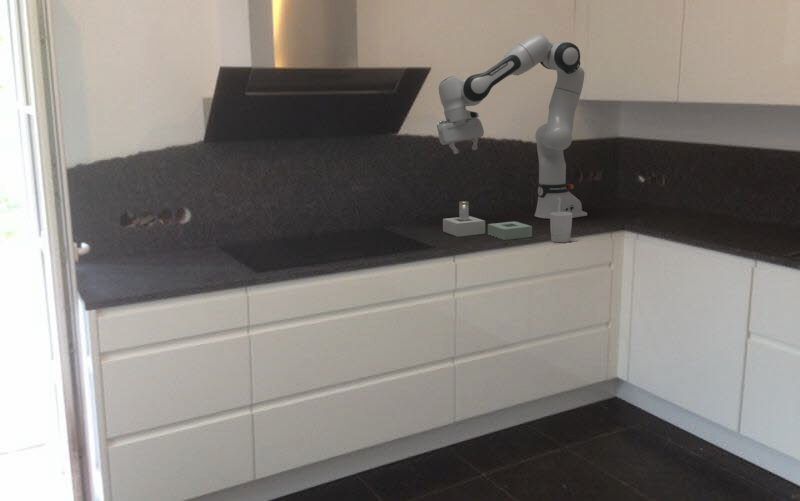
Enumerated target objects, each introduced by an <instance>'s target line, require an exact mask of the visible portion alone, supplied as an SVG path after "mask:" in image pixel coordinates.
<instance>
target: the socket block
mask: <svg viewBox="0 0 800 501" xmlns="http://www.w3.org/2000/svg"><path fill="white" fill-rule="evenodd" d="M487 235H488V236H490V235H491V237H493V236H494V238H496V237H497V239H499V240H502V241H508V240H516V239H517V240H518V239H525V238H532V237H533V226H532V225H529V224H526V223H523V222H522V223H521V222H520V221H515V220H514V221H506V222H497V223H488V224H487Z"/></svg>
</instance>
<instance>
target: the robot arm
mask: <svg viewBox="0 0 800 501" xmlns="http://www.w3.org/2000/svg"><path fill="white" fill-rule="evenodd" d="M538 64H540V65H541V66H542V67H544V68H545V69H547V70H552V71H556V75H557V76H556V77H557V78H556V83H555V86H554V88H553V91H552V95H551V98H550V100H549V104H548V118H547V122H546V123H544V124H542V125H541V126H539V127H538V128H537V130H536V131H535V136H534V138H535V142H536V149H537V157H538V174H539V175H538V183H537V204H536V208H535V211H534V212H535V213H534V217H536V218H539V219H549V220H550V213H552V212H569V213H572V219H574V218H580V217H581V218H582V217H586V216H588V212H586V211H583V206H582V202H581V200H580V199H578V198H577V197H576V196H575V195H574V194H573V193H572V192H570V189H571V190H573V189H574V187H575V185H574V184H573V183H569V184H568V183H567V182H566V177H567V176H566V175H567V172H566V171H567V163H566V160H565V157H564V150H566V149H568V148H569V147H570V146H571V144H572V141H573V135H572V133H573V128H574V120H575V115H576V110H577V108H578V103H579V100H580V98H581V94H582V90H583V87H584V81H585V70H584V68H582V67H581V51H580V49H579V47H578V46H577V45H575V43H572V42H568V41H567V42H565V41H556V42H550V41H549V39H548V38H547V37H546V36H545V35H543V34H542V33H536V34H534V35H531V36H529V37H527V38H525V39H524V40H522V41H521V42H519V43H518V44H516V45H514V47H512V48H511V49H510V50H508V51H507V53H506V54H505V55H504V57H503V58H502V59H501V60H500V62H498V63H497V64H495V65H493V66H492V67H490V68H489V69H487V70H486V71H484V72H481V73H476V74H471V75H470V76H468V77H467V79H462V78H458V77H457V76H455V75H454V76H453V75H452V76H449V77H447V78H445V79H443V80H442V81H440V83H439V84H438V94H439V99H440V102H441V105H442V106H443V114H444V119H445V120H440V121H438V122H437V125H436V128H437V132H438V139H439V143H440V144H441V145H443V146H444V145H448V146H449V148H450V149H451V151H452V152H453V154H454V155H456V154H459V153H460V151H459V148H457V147H456V143H459V142H464V141H467V140H468V141H469V140H471V142H473V143H472V145H471V149H472V151H475V150H478V149H479V148H478V141H479V138H481V137H484V134H485V130H484V127H483V124H482V121H481V120H480V118H479V115H480V114H479V113H478V112H477V111H471V110H468V109H467V107H473V106H474V107H475V106H477V105H480V103H481V102H482V101H483V100H484V99H486V97H487V96H488V95H489V93H490V92H491V90H492V88H493V87H494V86H495V85H497V84H499V83H500V82H501V81H503V80H505V79H506V78H507V77H509V76H512V75H513V76H520V75H523V74H524V73H527V72H528V71H530V70H532V69H533V68H534V67H536V66H537V65H538Z"/></svg>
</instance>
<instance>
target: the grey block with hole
mask: <svg viewBox="0 0 800 501" xmlns="http://www.w3.org/2000/svg"><path fill="white" fill-rule="evenodd" d="M442 231H443V233H446V234H450V235H452V236H454V237H457V238H459V237H466V236H475V235H477V236H478V235H484V234H486V220H484V219H481V218H478V217H474V216H471V215H469V221H462V222H460V221H459V217H450V218H442Z"/></svg>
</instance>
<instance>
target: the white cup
mask: <svg viewBox="0 0 800 501" xmlns="http://www.w3.org/2000/svg"><path fill="white" fill-rule="evenodd" d="M549 222H550V223H549V225H550V226H549V228H550V241H551V242H553V243H560V244H561V243H569V242H571V234H572V224H573V218H572V213H569V212H552V213H550V219H549Z"/></svg>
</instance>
